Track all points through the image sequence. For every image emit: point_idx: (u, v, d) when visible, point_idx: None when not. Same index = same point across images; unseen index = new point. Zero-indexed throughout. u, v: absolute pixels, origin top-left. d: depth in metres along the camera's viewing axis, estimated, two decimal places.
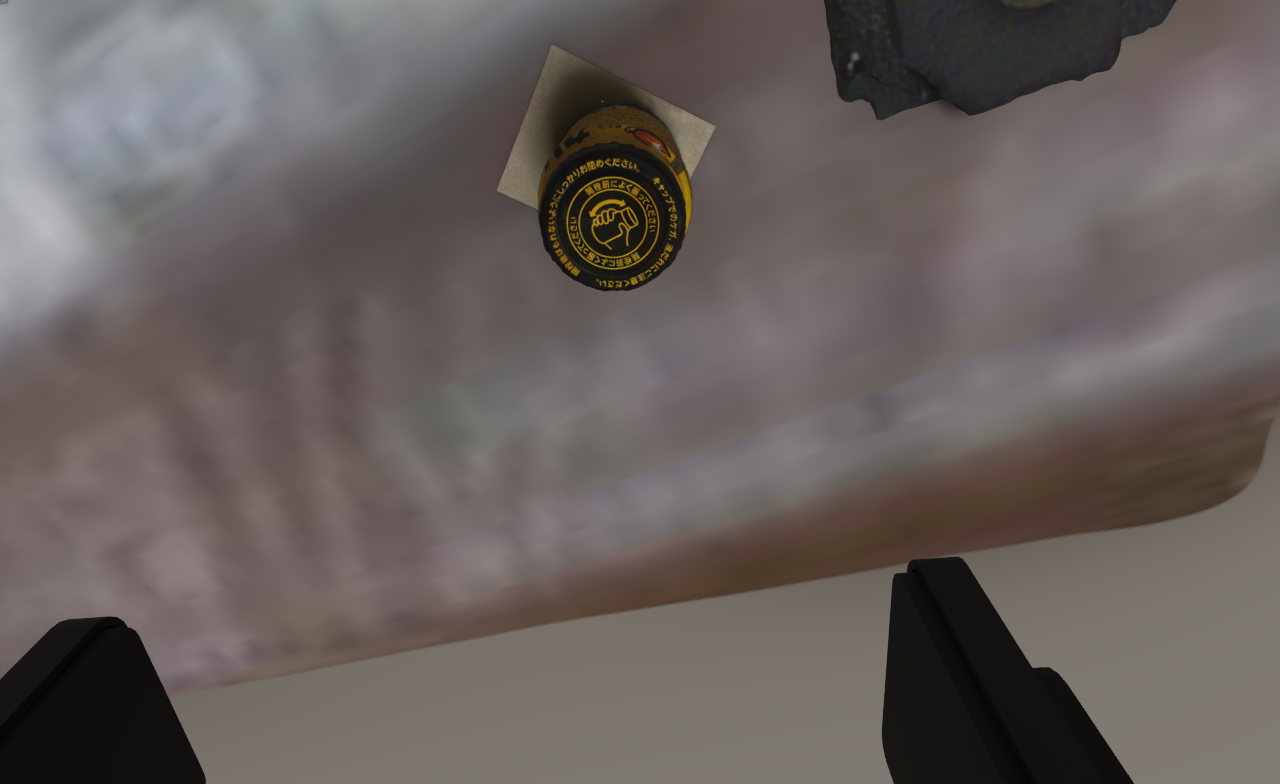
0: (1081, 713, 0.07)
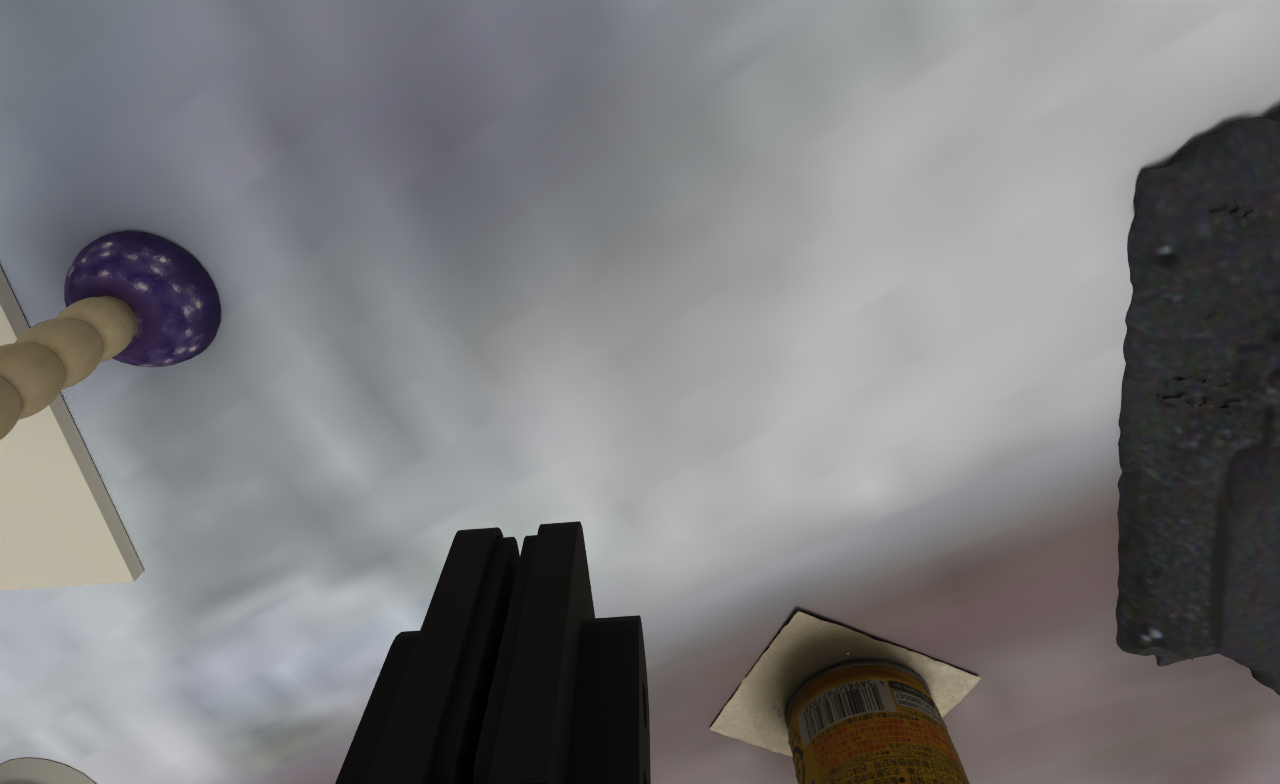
0: (639, 651, 0.09)
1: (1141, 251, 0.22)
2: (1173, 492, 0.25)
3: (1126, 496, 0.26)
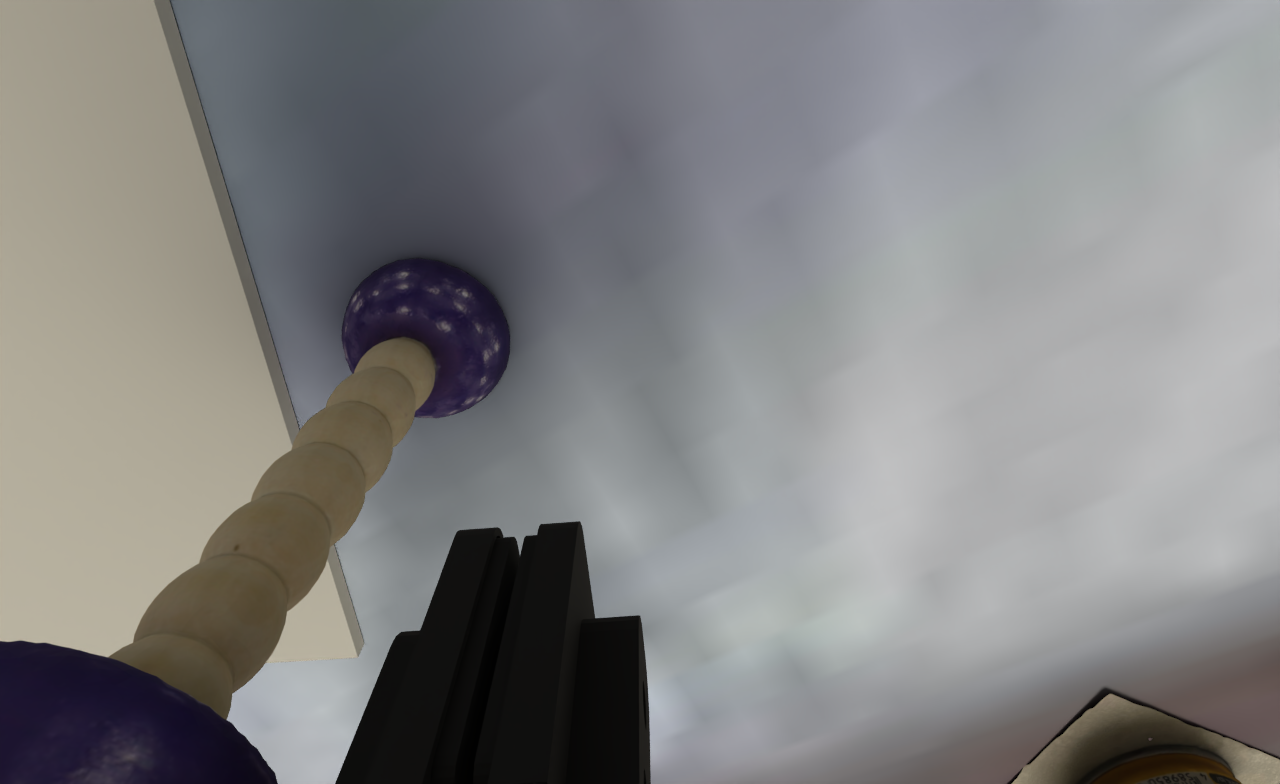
0: (639, 650, 0.09)
1: None
2: None
3: None
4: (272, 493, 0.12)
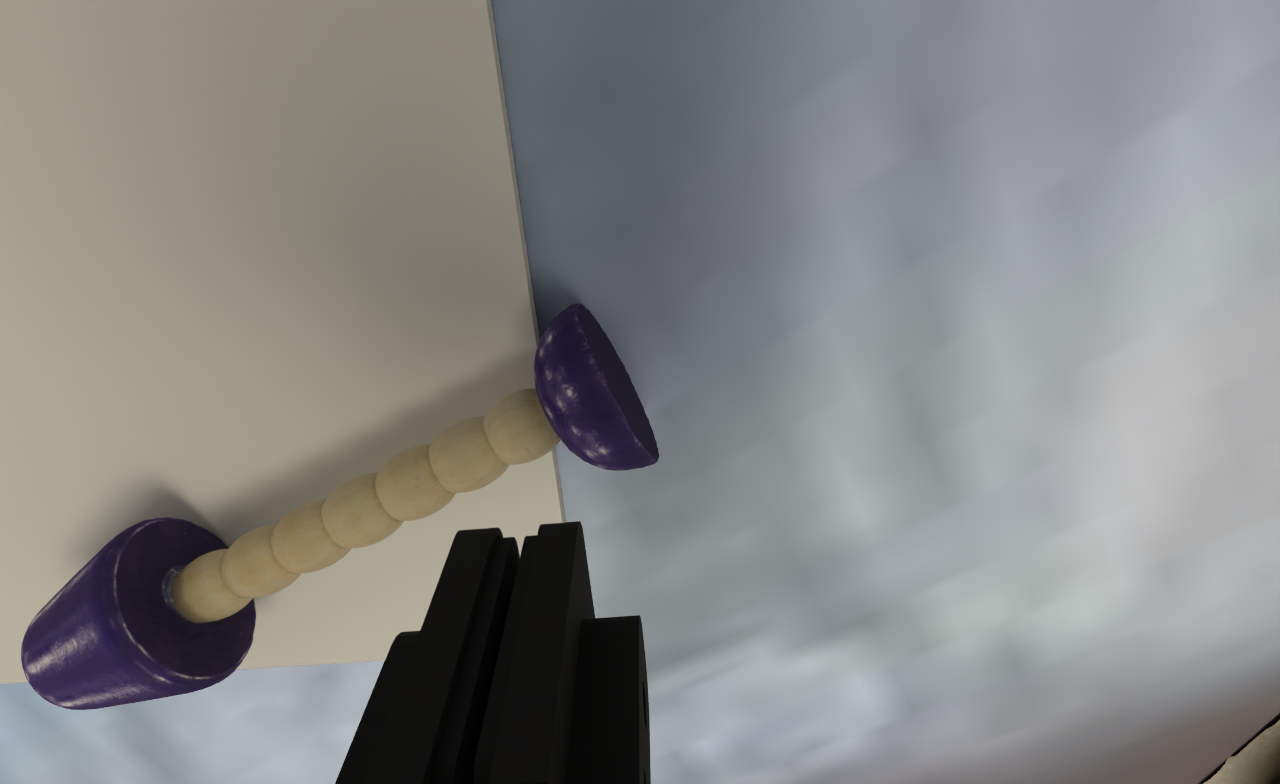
0: (639, 650, 0.09)
1: None
2: None
3: None
4: (323, 505, 0.19)
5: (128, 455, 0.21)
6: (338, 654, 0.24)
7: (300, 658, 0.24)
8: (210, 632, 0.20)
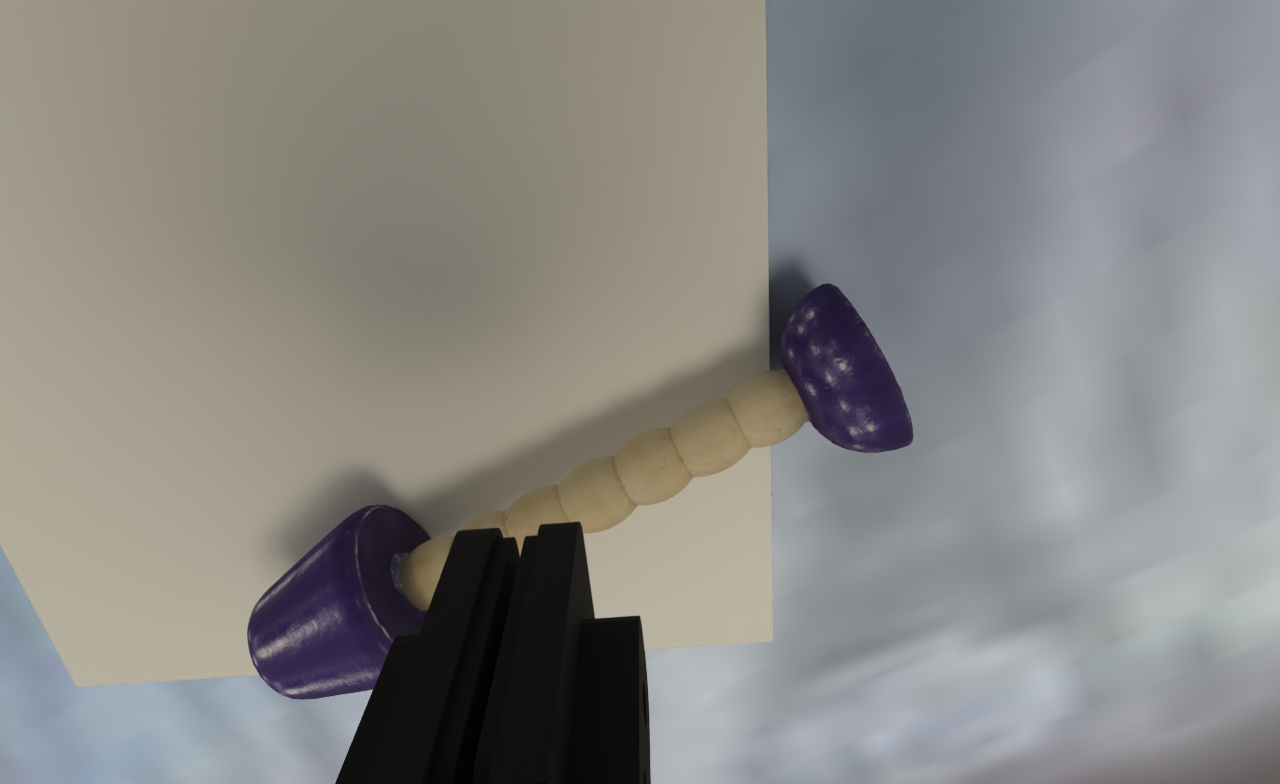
0: (639, 651, 0.09)
1: None
2: None
3: None
4: (557, 488, 0.18)
5: (341, 446, 0.20)
6: None
7: None
8: None
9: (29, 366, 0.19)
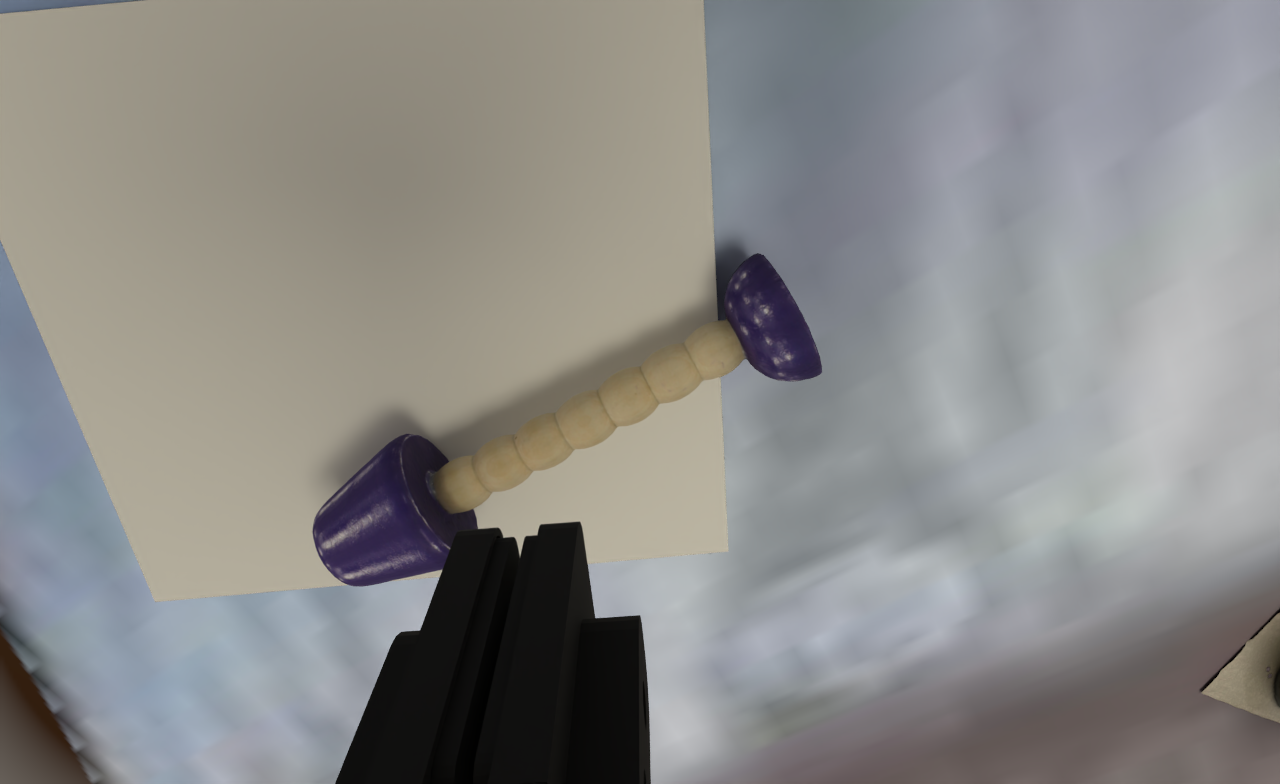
0: (640, 650, 0.09)
1: None
2: None
3: None
4: (555, 414, 0.24)
5: (382, 390, 0.26)
6: None
7: None
8: (456, 523, 0.25)
9: (137, 327, 0.25)
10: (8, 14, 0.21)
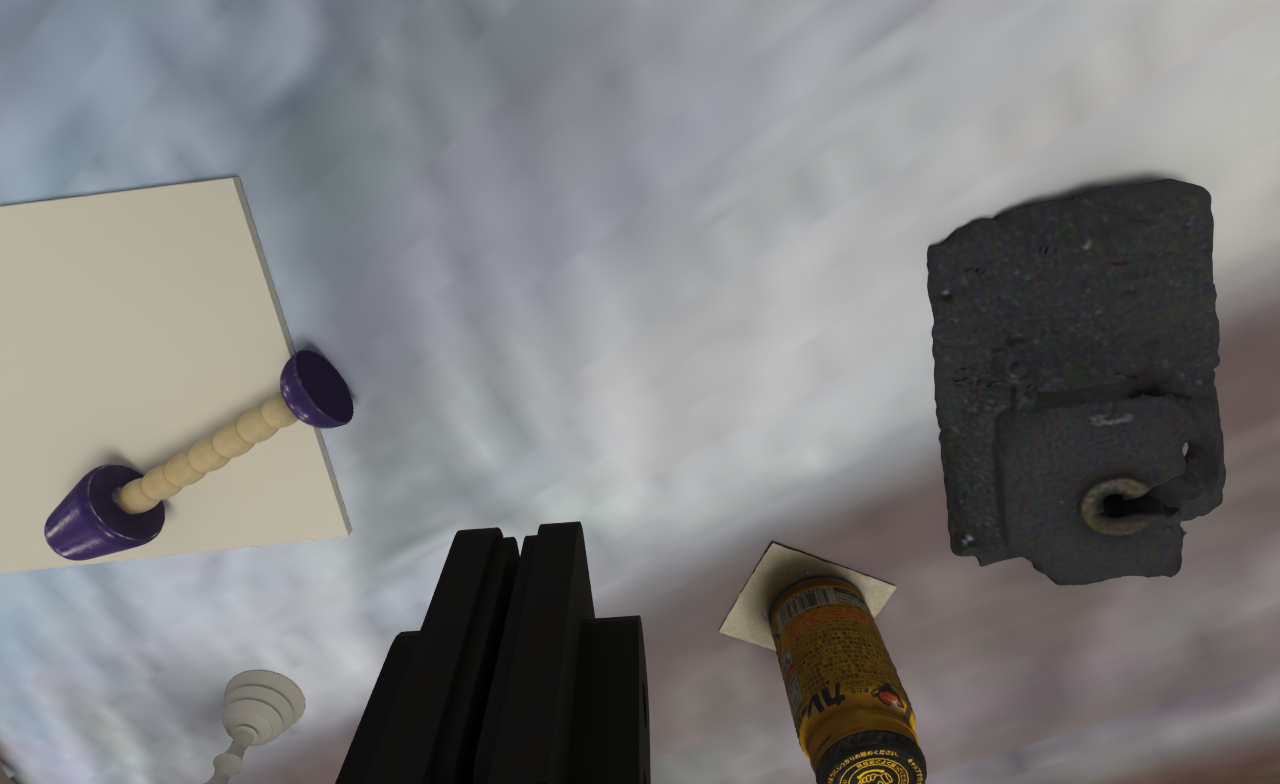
0: (640, 650, 0.09)
1: (933, 293, 0.38)
2: (967, 440, 0.41)
3: (943, 446, 0.42)
4: (189, 451, 0.38)
5: (98, 436, 0.40)
6: (217, 545, 0.43)
7: (196, 548, 0.43)
8: (137, 520, 0.39)
9: None
10: None
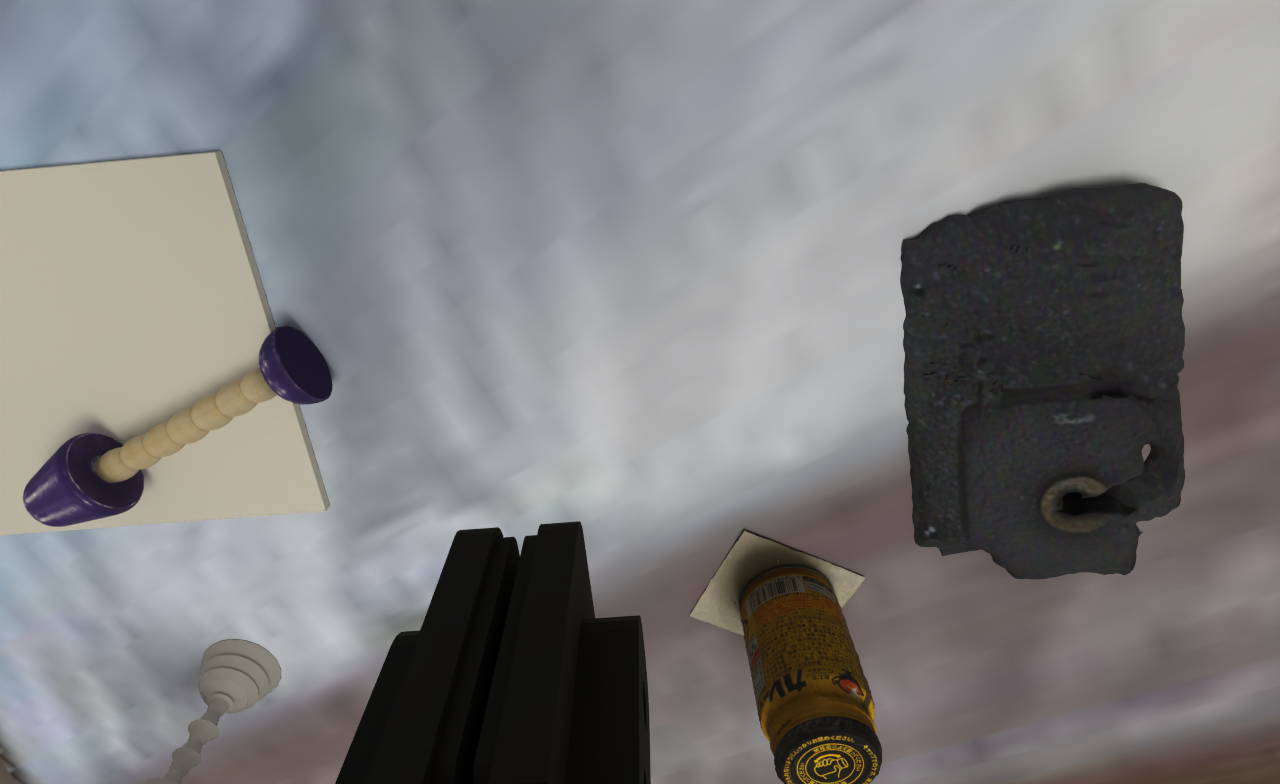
0: (639, 651, 0.09)
1: (906, 286, 0.39)
2: (933, 434, 0.41)
3: (910, 438, 0.42)
4: (168, 422, 0.39)
5: (78, 405, 0.41)
6: (196, 515, 0.44)
7: (175, 517, 0.44)
8: (115, 488, 0.40)
9: None
10: None
